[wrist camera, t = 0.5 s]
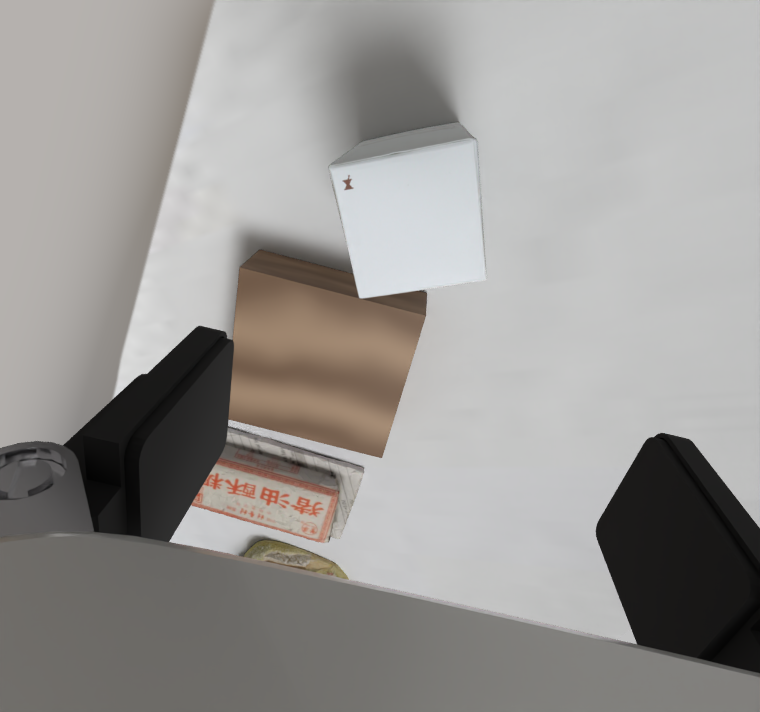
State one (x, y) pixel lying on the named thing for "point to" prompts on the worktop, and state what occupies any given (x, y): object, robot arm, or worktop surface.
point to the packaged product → (281, 487)
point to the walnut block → (320, 353)
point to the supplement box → (412, 210)
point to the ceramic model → (293, 558)
